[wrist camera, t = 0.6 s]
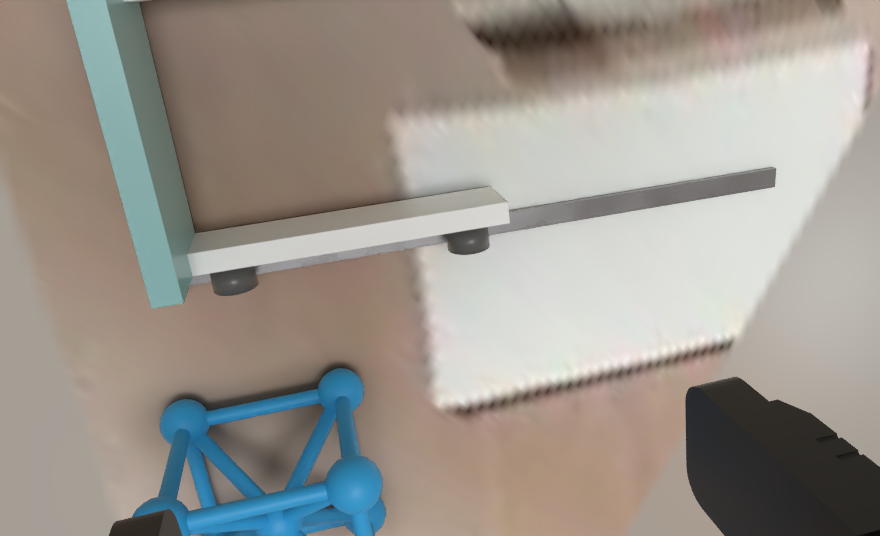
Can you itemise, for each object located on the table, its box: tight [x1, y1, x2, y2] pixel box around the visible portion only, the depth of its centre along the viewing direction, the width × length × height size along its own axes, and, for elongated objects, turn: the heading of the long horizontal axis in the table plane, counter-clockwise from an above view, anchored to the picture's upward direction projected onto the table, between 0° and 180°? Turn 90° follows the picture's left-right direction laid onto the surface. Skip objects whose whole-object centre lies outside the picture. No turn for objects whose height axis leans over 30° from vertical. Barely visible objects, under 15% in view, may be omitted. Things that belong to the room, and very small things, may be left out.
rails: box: [190, 167, 776, 286], centre depth 34 cm, size 15×32×1 cm, turn 96°
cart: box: [66, 0, 510, 309], centre depth 30 cm, size 15×15×6 cm
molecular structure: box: [132, 368, 386, 536], centre depth 34 cm, size 10×10×10 cm
